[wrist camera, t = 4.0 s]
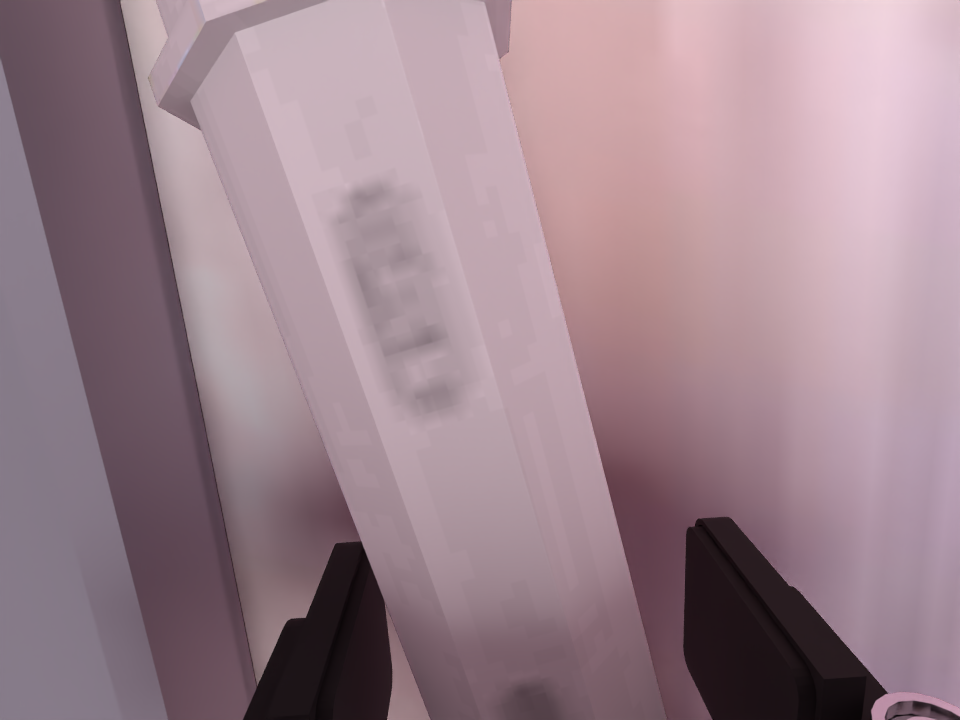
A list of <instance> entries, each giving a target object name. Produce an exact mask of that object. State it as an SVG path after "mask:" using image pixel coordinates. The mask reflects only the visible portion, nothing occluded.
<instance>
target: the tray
mask: <svg viewBox="0 0 960 720" xmlns="http://www.w3.org/2000/svg"><path fill="white" fill-rule="evenodd" d="M256 689H257V687H256V682H255V677H254V672H253V667H252V662H251V657H250V652H249V647H248V642H247V637H246V632H245V627H244V622H243V617H242V612H241V607H240V602H239V597H238V592H237V587H236V582H235V577H234V572H233V567H232V562H231V557H230V552H229V547H228V542H227V537H226V532H225V527H224V522H223V517H222V512H221V507H220V502H219V497H218V492H217V487H216V482H215V477H214V472H213V467H212V462H211V457H210V452H209V447H208V442H207V437H206V432H205V427H204V422H203V417H202V412H201V407H200V402H199V397H198V392H197V387H196V382H195V377H194V372H193V367H192V362H191V357H190V352H189V347H188V342H187V337H186V332H185V327H184V322H183V317H182V312H181V307H180V302H179V297H178V292H177V287H176V282H175V277H174V272H173V267H172V262H171V257H170V252H169V247H168V242H167V237H166V232H165V227H164V222H163V217H162V212H161V207H160V202H159V197H158V192H157V187H156V182H155V177H154V172H153V167H152V162H151V157H150V152H149V147H148V142H147V137H146V132H145V127H144V122H143V117H142V112H141V107H140V102H139V97H138V92H137V87H136V82H135V77H134V72H133V67H132V62H131V57H130V52H129V47H128V42H127V37H126V32H125V27H124V22H123V17H122V12H121V7H120V2H119V0H0V720H243V718H244V716H245V713H246V711H247V709H248V707H249V704H250V702H251V700H252V698H253V695H254V693H255V691H256Z"/></svg>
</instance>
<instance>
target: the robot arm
mask: <svg viewBox="0 0 960 720" xmlns="http://www.w3.org/2000/svg"><path fill="white" fill-rule="evenodd" d="M683 646H684V656H685V661H686V664H687V667H688V670H689V672H690V674H691V676H692V678H693V680H694V682H695V684H696V686H697V688H698V690H699V693H700V695H701V697H702V699H703V701H704V703H705V705H706V707H707V709H708V711H709V713H710V715H711V717H712V720H960V708H959V707H957V706H954V705H952V704H950V703H948V702H945V701H943V700H941V699H938V698H935V697H931V696H927V695H923V694H920V693H910V692H896V693H890V694H888V693H887V692H886V691H885V689H884V688H883V687H882V686H881V685H880V684H879V682H878V681H877V680H876V679H875V678H874V677H873V676H872V674H871V673H870V672H869V671H868V670H867V669H866V668H865V666H864V665H863V664H862V663H861V662H860V661H859V660H858V658H857V657H856V656H855V655H854V654H853V653H852V652H851V650H850V649H849V648H848V647H847V646H846V645H845V644H844V642H843V641H842V640H841V639H840V638H839V637H838V636H837V634H836V633H835V632H834V631H833V630H832V629H831V628H830V626H829V625H828V624H827V623H826V622H825V621H824V620H823V618H822V617H821V616H820V615H819V614H818V613H817V612H816V610H815V609H814V608H813V607H812V606H811V605H810V604H809V602H808V601H807V600H806V599H805V598H804V597H803V595H802V594H801V593H800V592H799V591H798V590H797V589H795V588H794V587H792V586H789V585H788V584H787V583H786V582H785V581H784V579H783V578H782V577H781V576H780V575H779V574H778V572H777V571H776V570H775V569H774V568H773V567H772V565H771V564H770V563H769V562H768V561H767V560H766V559H765V557H764V556H763V555H762V554H761V553H760V552H759V550H758V549H757V548H756V547H755V546H754V545H753V543H752V542H751V541H750V540H749V539H748V538H747V536H746V535H745V534H744V533H743V532H742V531H741V529H740V528H739V527H738V526H737V525H736V524H735V522H734V521H733V520H732V519H731V518H729V517H717V518H702V519H698V520H697V521H696V524H695V527H689V528H688V529H687V533H686V565H685V605H684V644H683ZM391 691H392V662H391V653H390V645H389V636H388V628H387V620H386V611H385V603H384V598H383V596H382V593H381V590H380V588H379V585H378V583H377V580H376V578H375V575H374V572H373V570H372V567H371V565H370V562H369V560H368V557H367V554H366V552H365V549H364V547H363V544H362V542H346V543H336V544H335V546H334V549H333V551H332V554H331V556H330V559H329V561H328V564H327V566H326V569H325V571H324V574H323V576H322V579H321V581H320V584H319V586H318V589H317V591H316V594H315V596H314V599H313V601H312V604H311V606H310V609H309V611H308V614H307V616H306V618H296V619H290V620H288V621H287V623H286V624H285V626H284V628H283V630H282V632H281V634H280V637H279V639H278V641H277V644H276V646H275V648H274V650H273V653H272V655H271V657H270V659H269V662H268V664H267V666H266V668H265V671H264V673H263V675H262V677H261V680H260V682H259V684H258V686H257V689H256V691H255V693H254V695H253V698H252V700H251V702H250V704H249V707H248V709H247V711H246V713H245V716H244V718H243V720H387V716H388V710H389V703H390V697H391Z"/></svg>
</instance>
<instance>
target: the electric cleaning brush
mask: <svg viewBox="0 0 960 720" xmlns="http://www.w3.org/2000/svg"><path fill="white" fill-rule="evenodd" d="M156 3H157V6H158V9H159V12H160V14H161V17H162V20H163V23H164V26H165V29H166V32H167V35H168V39H167V41H166V43H165V45H164V47H163V49H162V51H161V53H160V55H159V57H158V59H157V61H156V63H155V65H154V67H153V69H152V71H151V73H150V75H149V77H148V79H149V82H150V85H151V88H152V90H153V93H154V96H155V99H156V102H157V105H158V106H159V107H160V108H162V109H164V110H166V111H167V112H169V113H171V114H173V115H175V116H176V117H178V118H180V119H182V120H184V121H185V122H187V123H189V124H191V125H192V126H194V127H196V128H198V129H200V130H201V131H202V133H203V135H204V138H205V140H206V143H207V146H208V148H209V151H210V153H211V156H212V158H213V161H214V164H215V166H216V169H217V171H218V174H219V176H220V179H221V182H222V184H223V187H224V189H225V192H226V194H227V197H228V200H229V202H230V205H231V207H232V210H233V212H234V215H235V218H236V220H237V223H238V225H239V228H240V230H241V233H242V236H243V238H244V241H245V243H246V246H247V248H248V251H249V254H250V256H251V259H252V261H253V264H254V266H255V269H256V272H257V274H258V277H259V279H260V282H261V284H262V287H263V290H264V292H265V295H266V297H267V300H268V302H269V305H270V308H271V310H272V313H273V315H274V318H275V320H276V323H277V326H278V328H279V331H280V333H281V336H282V338H283V341H284V344H285V346H286V349H287V351H288V354H289V356H290V359H291V362H292V364H293V367H294V369H295V372H296V374H297V377H298V380H299V382H300V385H301V387H302V390H303V392H304V395H305V398H306V400H307V403H308V405H309V408H310V410H311V413H312V416H313V418H314V421H315V423H316V426H317V428H318V431H319V434H320V436H321V439H322V441H323V444H324V446H325V449H326V452H327V454H328V457H329V459H330V462H331V464H332V467H333V470H334V472H335V475H336V477H337V480H338V482H339V485H340V488H341V490H342V493H343V495H344V498H345V500H346V503H347V506H348V508H349V511H350V513H351V516H352V518H353V521H354V524H355V526H356V529H357V531H358V534H359V536H360V539H361V542H362V544H363V547H364V549H365V552H366V554H367V557H368V560H369V562H370V565H371V567H372V570H373V572H374V575H375V578H376V580H377V583H378V585H379V588H380V590H381V593H382V596H383V598H384V601H385V603H386V606H387V608H388V611H389V614H390V616H391V619H392V621H393V624H394V626H395V629H396V632H397V634H398V637H399V639H400V642H401V644H402V647H403V650H404V652H405V655H406V657H407V660H408V662H409V665H410V668H411V670H412V673H413V675H414V678H415V680H416V683H417V686H418V688H419V691H420V693H421V696H422V698H423V701H424V704H425V706H426V709H427V711H428V714H429V716H430V719H431V720H667V718H666V714H665V710H664V706H663V702H662V698H661V694H660V690H659V686H658V682H657V678H656V674H655V670H654V667H653V663H652V659H651V655H650V651H649V647H648V643H647V639H646V635H645V631H644V627H643V623H642V619H641V615H640V611H639V607H638V604H637V600H636V596H635V592H634V588H633V584H632V580H631V576H630V572H629V568H628V564H627V560H626V556H625V552H624V548H623V545H622V541H621V537H620V533H619V529H618V525H617V521H616V517H615V513H614V509H613V505H612V501H611V497H610V493H609V489H608V485H607V482H606V478H605V474H604V470H603V466H602V462H601V458H600V454H599V450H598V446H597V442H596V438H595V434H594V430H593V426H592V422H591V419H590V415H589V411H588V407H587V403H586V399H585V395H584V391H583V387H582V383H581V379H580V375H579V371H578V367H577V363H576V360H575V356H574V352H573V348H572V344H571V340H570V336H569V332H568V328H567V324H566V320H565V316H564V312H563V308H562V304H561V300H560V297H559V293H558V289H557V285H556V281H555V277H554V273H553V269H552V265H551V261H550V257H549V253H548V249H547V245H546V241H545V237H544V234H543V230H542V226H541V222H540V218H539V214H538V210H537V206H536V202H535V198H534V194H533V190H532V186H531V182H530V178H529V175H528V171H527V167H526V163H525V159H524V155H523V151H522V147H521V143H520V139H519V135H518V131H517V127H516V123H515V119H514V115H513V112H512V108H511V104H510V100H509V96H508V92H507V88H506V84H505V80H504V76H503V72H502V68H501V64H500V60H499V59H500V58H501V57H502V56H504V55H505V54H506V53H508V52H509V38H510V21H511V4H512V0H156Z"/></svg>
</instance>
